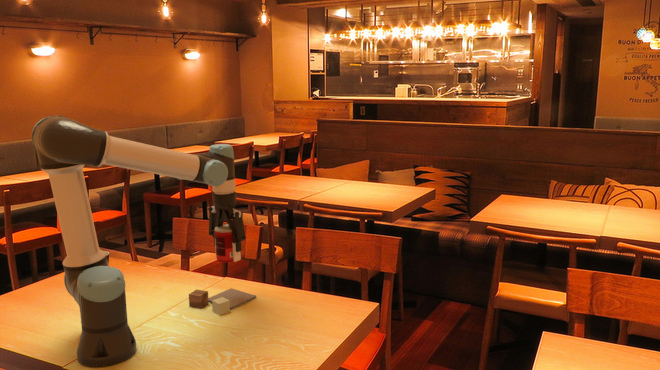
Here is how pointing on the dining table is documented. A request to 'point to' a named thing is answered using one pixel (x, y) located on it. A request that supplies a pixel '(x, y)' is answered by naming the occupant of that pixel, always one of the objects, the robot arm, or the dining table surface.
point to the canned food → (224, 244)
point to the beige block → (221, 306)
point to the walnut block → (198, 299)
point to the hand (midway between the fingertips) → (228, 258)
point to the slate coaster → (234, 297)
